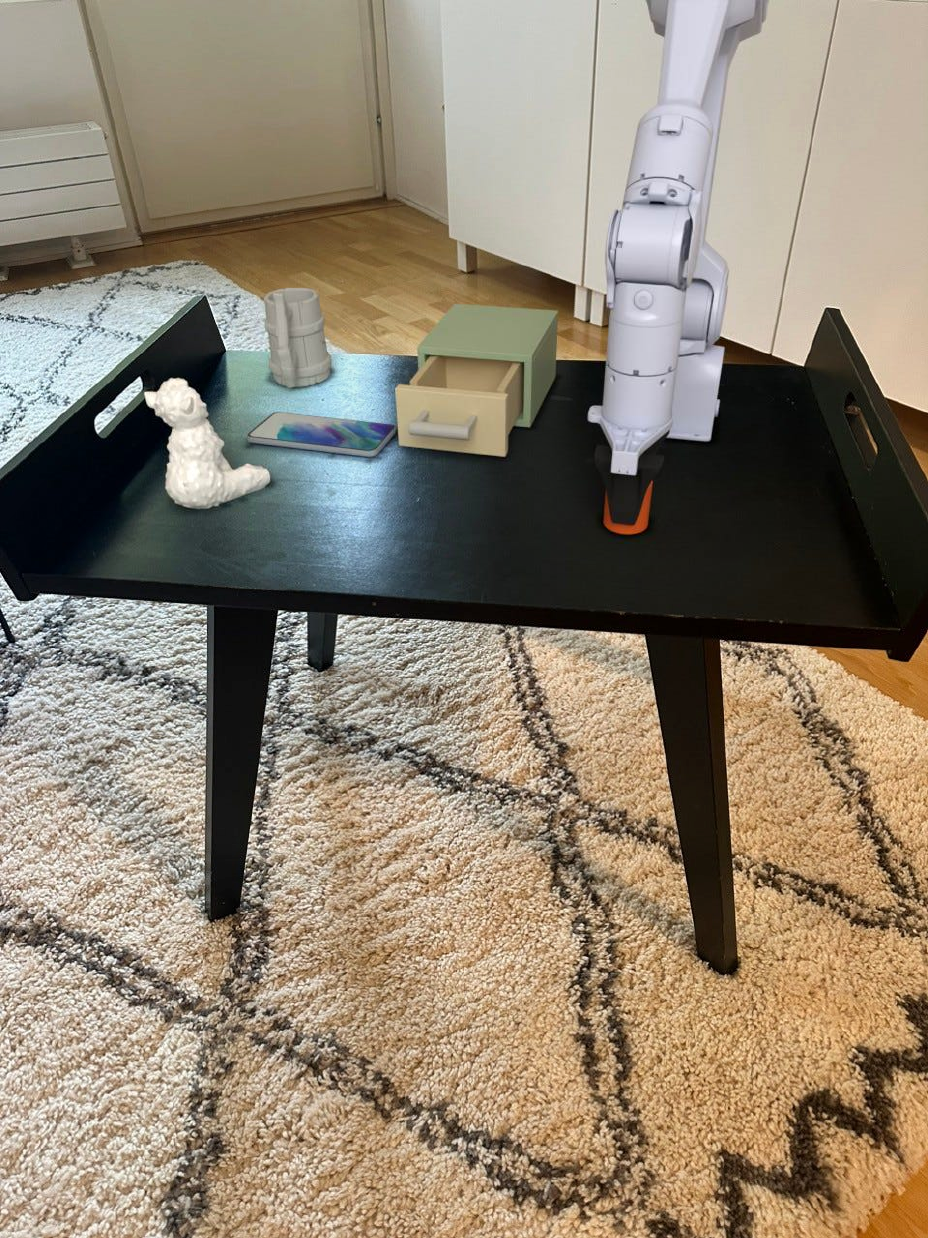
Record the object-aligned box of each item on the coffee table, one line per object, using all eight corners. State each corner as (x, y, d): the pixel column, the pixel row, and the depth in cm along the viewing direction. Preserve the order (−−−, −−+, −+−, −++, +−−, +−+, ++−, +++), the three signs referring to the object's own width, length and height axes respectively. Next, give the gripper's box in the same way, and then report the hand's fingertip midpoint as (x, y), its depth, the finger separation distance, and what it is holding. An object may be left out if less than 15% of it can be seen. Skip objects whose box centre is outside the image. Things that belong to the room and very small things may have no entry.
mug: (337, 363, 114) (326, 266, 107) (322, 401, 105) (309, 297, 97) (277, 364, 114) (263, 267, 107) (257, 402, 105) (240, 298, 98)
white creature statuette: (275, 483, 89) (256, 367, 82) (222, 525, 83) (196, 403, 76) (199, 466, 92) (173, 353, 85) (142, 505, 86) (109, 386, 79)
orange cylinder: (650, 514, 83) (656, 463, 79) (645, 537, 79) (651, 485, 76) (606, 509, 83) (611, 459, 80) (600, 531, 80) (604, 480, 77)
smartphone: (273, 410, 101) (398, 424, 97) (275, 417, 101) (399, 431, 98) (243, 436, 95) (374, 452, 92) (244, 444, 96) (374, 459, 92)
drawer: (495, 476, 87) (495, 416, 83) (385, 464, 90) (380, 405, 86) (533, 403, 101) (534, 348, 97) (436, 394, 103) (434, 341, 100)
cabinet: (530, 427, 98) (531, 355, 93) (420, 416, 101) (416, 346, 96) (555, 376, 109) (558, 310, 104) (456, 368, 112) (454, 303, 107)
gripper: (605, 329, 79) (595, 467, 87) (577, 394, 68) (568, 545, 76) (686, 335, 77) (668, 475, 85) (671, 402, 66) (652, 556, 74)
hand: (626, 509), depth 81 cm, fingers closed on orange cylinder, 4 cm apart
